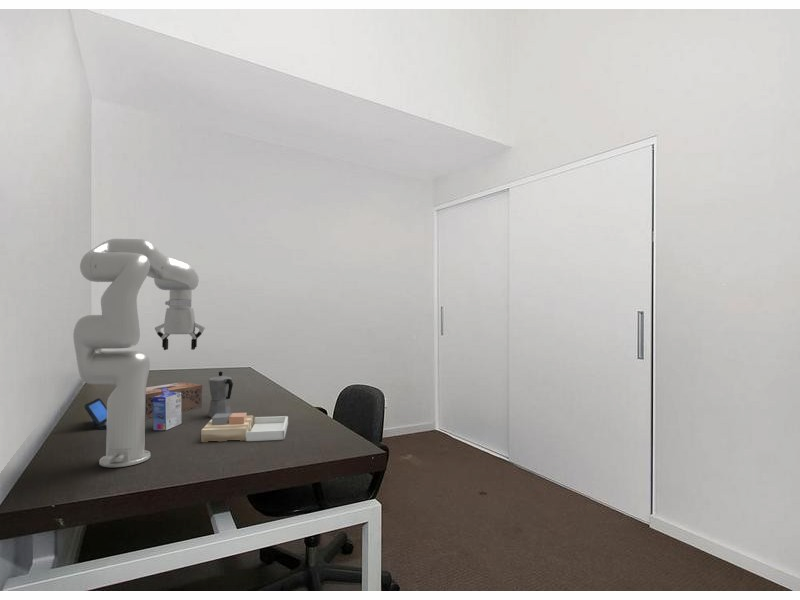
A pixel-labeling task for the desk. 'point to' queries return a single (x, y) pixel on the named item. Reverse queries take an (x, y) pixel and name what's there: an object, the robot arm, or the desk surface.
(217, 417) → the slate tile
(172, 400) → the ink cartridge box
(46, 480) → the desk surface
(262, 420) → the box
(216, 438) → the plate
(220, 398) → the coffeepot
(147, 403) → the tissue box cover
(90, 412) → the handheld game console
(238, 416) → the salmon pink block
